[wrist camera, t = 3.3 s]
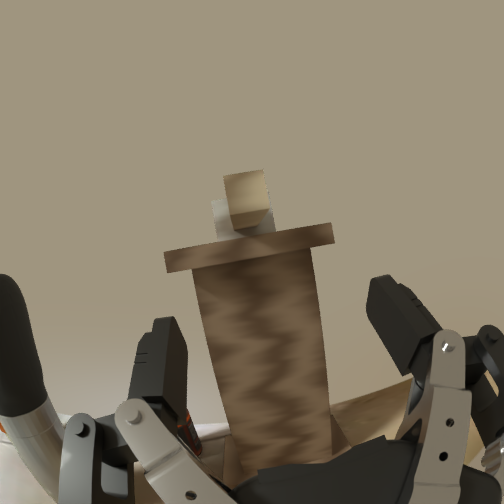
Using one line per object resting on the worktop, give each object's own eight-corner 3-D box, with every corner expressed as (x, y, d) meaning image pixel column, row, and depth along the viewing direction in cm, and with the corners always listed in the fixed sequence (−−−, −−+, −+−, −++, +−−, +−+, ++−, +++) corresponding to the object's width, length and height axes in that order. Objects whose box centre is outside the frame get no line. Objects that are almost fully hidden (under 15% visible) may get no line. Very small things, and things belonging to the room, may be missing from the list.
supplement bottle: (196, 437, 38) (178, 386, 38) (208, 455, 33) (188, 401, 33) (165, 447, 36) (143, 395, 35) (174, 466, 30) (149, 412, 30)
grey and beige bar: (201, 237, 16) (191, 166, 16) (222, 244, 35) (216, 210, 35) (303, 220, 16) (288, 150, 16) (268, 236, 35) (262, 203, 35)
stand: (224, 491, 25) (153, 253, 24) (227, 441, 37) (180, 252, 36) (357, 464, 26) (340, 220, 25) (332, 420, 38) (309, 229, 37)
